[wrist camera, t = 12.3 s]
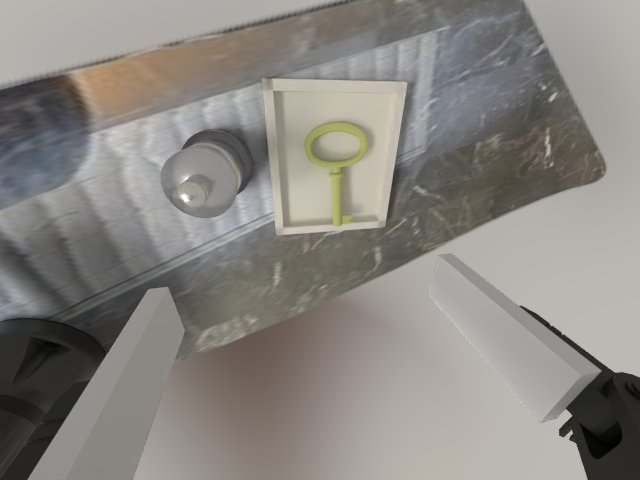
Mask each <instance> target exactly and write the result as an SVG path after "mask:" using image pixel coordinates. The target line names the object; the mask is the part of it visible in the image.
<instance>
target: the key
mask: <svg viewBox="0 0 640 480" xmlns="http://www.w3.org/2000/svg"><path fill="white" fill-rule="evenodd" d="M330 132H345V133H349V134H352V135H354V136H356V137H357V138H358V139H359V140H360V149H359V151H358V153H357V154H356V155H355V156H353V157H351V158H349V159H347V160H342V161H325V160H321V159H319V158H317V157H315V156H314V155H313V153H312V151H311V144H312V142H313V141H314V140H315V139H316V138H318V137H319V136H321V135H323V134H326V133H330ZM304 148H305V153H306V156H307V157H308V159H309V160H310V161H311V162H312V163H314V164H316V165H318V166H321V167H325V168H332V172H331V173H329V177H330V178H332V215H333V226H336V227H337V226H341V225H342V224H349V223H353V221H352V218H353V215H352V214H349V215H342V178H343V177H344V176H345V174H344V173H343V172H342V167H346V166H350V165H352V164H355V163H357V162H358V161H360V160H361V159H362V158H363V157H364V155H365V154H366V151H367V148H368V140H367V137H366V135H365V134H364V132H363V131H362V130H361V129H360V128H358V127H357V126H355V125H353V124H351V123H347V122H329V123H324V124H322V125H320V126H318V127H316V128H315V129H313V130H312V131H311V132H310V133H309V134H308V136H307V137H306V140H305V146H304Z"/></svg>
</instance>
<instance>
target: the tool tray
mask: <svg viewBox="0 0 640 480" xmlns="http://www.w3.org/2000/svg"><path fill="white" fill-rule="evenodd" d="M261 79H262V89H263V100H264V111H265V121H266V132H267V143H268V153H269V164H270V175H271V185H272V196H273V207H274V217H275V228H276V235H288V234H301V233H315V232H328V231H342V230H355V229H368V228H382V227H385V223H386V217H387V211H388V204H389V198H390V192H391V185H392V179H393V172H394V166H395V160H396V153H397V147H398V141H399V134H400V128H401V122H402V115H403V109H404V102H405V96H406V90H407V83H408V82H392V81H352V80H312V79H272V78H261ZM329 122H347V123H351V124H353V125H355V126H357V127H358V128H360V129H361V130H362V131H363V132H364V134H365V135H366V137H367V140H368V148H367V151H366V154H365V155H364V157H363V158H362V159H361V160H360V161H358V162H357V163H355V164H352V165H350V166H346V167H342V172H343V173H344V174H345V176H344V177H343V178H342V215H349V214H352V215H353V218H352V221H353V223H349V224H342V225H341V226H337V227H336V226H333V215H332V178H330V177H329V173H331V172H332V168H325V167H321V166H318V165H316V164H314V163H312V162H311V161H310V160H309V159H308V157H307V156H306V153H305V148H304V146H305V140H306V137H307V136H308V134H309V133H310V132H311V131H312V130H313V129H315V128H316V127H318V126H320V125H322V124H324V123H329ZM359 149H360V140H359V139H358V138H357V137H356V136H354V135H352V134H349V133H345V132H330V133H326V134H323V135H321V136H319V137H318V138H316V139H315V140H314V141H313V142H312V144H311V151H312V153H313V155H314V156H315V157H317V158H319V159H321V160H325V161H342V160H347V159H349V158H351V157H353V156H355V155H356V154H357V153H358V151H359Z"/></svg>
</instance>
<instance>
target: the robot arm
mask: <svg viewBox="0 0 640 480" xmlns="http://www.w3.org/2000/svg"><path fill="white" fill-rule="evenodd" d="M427 295H428V296H429V297H430V298H431V299H432V301H433V302H434V303H435V304H436V305H437V306H438V308H439V309H440V310H441V311H442V312H443V313H444V314H445V316H446V317H447V318H448V319H449V320H450V321H451V322H452V324H453V325H454V326H455V327H456V328H457V329H458V331H459V332H460V333H461V334H462V335H463V336H464V338H465V339H466V340H467V341H468V342H469V343H470V344H471V346H472V347H473V348H474V349H475V350H476V351H477V352H478V354H479V355H480V356H481V357H482V358H483V359H484V361H485V362H486V363H487V364H488V365H489V366H490V367H491V369H492V370H493V371H494V372H495V373H496V374H497V375H498V376H499V378H500V379H501V380H502V381H503V382H504V383H505V385H506V386H507V387H508V388H509V389H510V390H511V392H512V393H513V394H514V395H515V396H516V397H517V399H518V400H519V401H520V402H521V403H522V404H523V405H524V407H525V408H526V409H527V410H528V411H529V412H530V413H531V414H532V416H533V417H534V418H535V419H536V420H537V422H539V423H541V422H545V421H549V420H552V419H556V418H557V417H559V415H560V414H561V413H562V412H563V411H564V410H565V409H567V410H568V411H569V412H570V413H571V414H572V415H573V416H572V417H571V418H570V419H569V420H568V421H567V422H566V423H565V424H564V425H563V426H562V427H561V428H560V429H559V436H562V437H564V436H565V435H567V434H568V433H569V432H570V431H571V430H572V431H573V434H572V435H571V437H570V439H569V440H570V441H573V442H575V443H576V444H577V447H578V450H579V453H580V457H581V460H582V463H583V466H584V469H585V472H586V475H587V478H588V480H640V378H639V377H637V376H634V375H632V374H628V373H623V372H621V373H615V372H613V371H612V370H610V369H609V368H607V367H606V366H605V365H603V364H602V363H601V362H599V361H598V360H597V359H595V358H594V357H593V356H591V355H590V354H589V353H588V352H586V351H585V350H584V349H582V348H581V347H580V346H578V345H577V344H576V343H574V342H573V341H572V340H570V339H569V338H568V337H566V336H565V335H562V334H561V332H560V331H559V330H557V329H556V328H555V327H553V326H550V324H549V323H548V322H547V321H545V320H544V319H543V318H541V317H540V316H539V315H537V314H536V313H534V312H532V311H530V310H528V309H527V308H525V307H523V306H518V305H517V304H516V303H514V302H513V301H512V300H510V299H509V298H508V297H507V296H505V295H504V294H503V293H501V292H500V291H499V290H498V289H496V288H495V287H494V286H493V285H491V284H490V283H489V282H487V281H486V280H485V279H483V278H482V277H481V276H480V275H479V274H477V273H476V272H475V271H473V270H472V269H471V268H470V267H468V266H467V265H466V264H464V263H463V262H462V261H461V260H459V259H458V258H457V257H455V256H454V255H453V254H444V255H439V257H438V260H437V264H436V267H435V271H434V274H433V278H432V281H431V284H430V288H429V291H428V294H427ZM184 333H185V329H184V326H183V324H182V321H181V319H180V316H179V314H178V311H177V308H176V306H175V303H174V301H173V298H172V296H171V293H170V290H169V288H168V287H162V288H153V289H148V291H147V292H146V294H145V295H144V297H143V298H142V300H141V302H140V303H139V305H138V306H137V308H136V309H135V311H134V313H133V314H132V316H131V317H130V319H129V320H128V322H127V324H126V325H125V327H124V328H123V330H122V332H121V333H120V335H119V336H118V338H117V339H116V341H115V343H114V344H113V346H112V347H111V349H110V350H109V352H108V354H107V355H106V357H105V354H104V351H103V349H102V348H101V347H100V345H99V344H98V343H97V342H96V341H95V340H93V339H92V338H91V337H89V336H88V335H86V334H84V333H83V332H81V331H79V330H76V329H74V328H72V327H69V326H66V325H63V324H59V323H55V322H50V321H44V320H35V319H17V320H8V321H3V322H0V480H133V477H134V475H135V472H136V469H137V466H138V463H139V461H140V457H141V455H142V452H143V449H144V446H145V443H146V441H147V438H148V435H149V432H150V429H151V427H152V423H153V421H154V418H155V415H156V412H157V410H158V407H159V404H160V401H161V398H162V395H163V392H164V390H165V387H166V384H167V381H168V378H169V375H170V372H171V370H172V367H173V364H174V361H175V358H176V356H177V353H178V350H179V347H180V344H181V341H182V339H183V336H184Z"/></svg>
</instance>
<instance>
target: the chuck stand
mask: <svg viewBox="0 0 640 480" xmlns="http://www.w3.org/2000/svg"><path fill="white" fill-rule="evenodd" d="M251 173H252V159H251V156H250V153H249V151H248V149H247V147H246V146H245V145H244V143H243V142H242V141H241V140H240V139H239V138H237V137H236V136H235V135H233V134H231V133H229V132H227V131H224V130H219V129H209V130H205V131H202V132H200V133H197V134H195V135H193V136H192V137H191V138H189V139H188V140H187V141H186V143H185V144H184V146H183V148H182V151H180V152H178V153H176V154H174V155H173V156H171V157H170V158H169V159H168V160H167V161H166V163H165V164H164V166H163V169H162V172H161V184H162V188H163V190H164V193H165V195H166V196H167V198H168V199H169V201H170V202H171V203H172V204H173V205H174V206H175V207H176V208H178V209H179V210H181V211H182V212H184V213H186V214H188V215H191V216H194V217H199V218H211V217H216V216H218V215H221V214H223V213H224V212H226V211H227V210H228V209H229V208H230V207H231V205H232V204H233V202H234V200H235V197H236V195H237V194H239V193H240V192H241V191H243V190H244V189H245V187H246V186H247V184H248V182H249V180H250V176H251Z"/></svg>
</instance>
